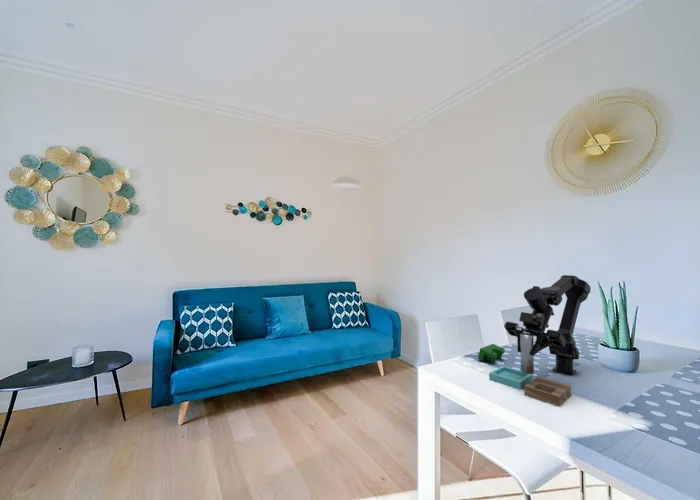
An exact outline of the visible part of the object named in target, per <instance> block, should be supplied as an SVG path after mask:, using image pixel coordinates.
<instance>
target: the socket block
mask: <svg viewBox="0 0 700 500" xmlns="http://www.w3.org/2000/svg"><path fill="white" fill-rule="evenodd" d="M523 389H524V392H523V393H524V396H527V397H530V398H533V399H535V400H539V401H542V402H544V403H548V404H550V405H552V406H553V405H554V406H556V407H560V406H562V404H564V403H565V402H566V401H567V400H568V399H569V398H571V396H572V385H569V384H566V383H563V382H559V381H555V380H551V379H548V378H545V377H541V376H536V378H533V380H532V381H531V382H529V383H528V384H526V385H525V386H524V387H523Z"/></svg>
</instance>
